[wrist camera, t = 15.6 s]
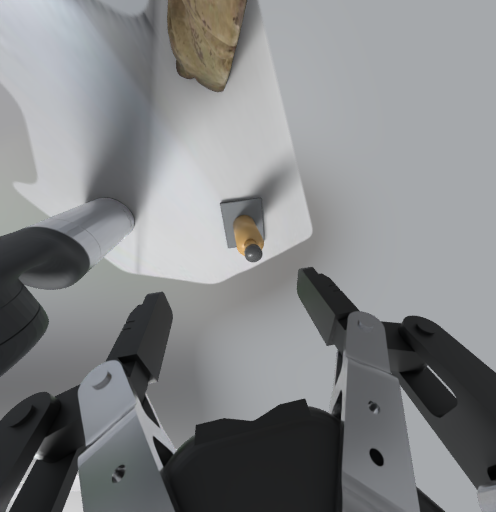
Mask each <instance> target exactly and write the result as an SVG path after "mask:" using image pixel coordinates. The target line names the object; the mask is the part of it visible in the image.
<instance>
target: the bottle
mask: <svg viewBox="0 0 496 512" xmlns="http://www.w3.org/2000/svg"><path fill="white" fill-rule="evenodd" d="M233 230H234V235H235V240H236V245H237V249H238V251H239V252H240V253H241V254H242V255H244V256H245V257H246V259H247V260H248V261H249V262H257V261H258V260H260V259H261V257H262V251H261V250H262V248H263V246H264V241H263V238H262V236H261V234H260V232H259V230H258V228H257V226H256V224H255V222H254V220H253V219H252V218H251V217H250V216H248V215H241V216H238V217H237V218H236V219H235V220H234V222H233Z"/></svg>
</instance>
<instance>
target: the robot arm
mask: <svg viewBox="0 0 496 512" xmlns="http://www.w3.org/2000/svg"><path fill="white" fill-rule="evenodd" d="M133 228H134V218H133V215H132V213H131V212H130V210H129V209H128V208H127V207H126V206H125V205H124V204H122V203H121V202H119V201H117V200H114V199H111V198H99V199H96V200H93V201H91V202H88V203H85V204H83V205H80V206H78V207H75V208H73V209H70V210H68V211H65V212H63V213H60V214H58V215H55V216H53V217H50V218H48V219H46V220H43V221H41V222H38V223H36V224H33V225H31V226H28V227H26V228H23V229H21V230H18V231H16V232H13V233H10V234H7V235H4V236H1V237H0V377H1V376H2V375H3V374H4V373H6V372H7V371H8V370H9V369H10V368H11V367H12V366H14V365H15V364H16V363H17V362H18V361H19V360H20V359H21V358H22V357H23V356H25V355H26V354H27V353H28V352H29V350H31V349H32V347H34V346H35V344H36V343H37V342H38V341H39V340H40V338H41V337H42V336H43V335H44V333H45V331H46V329H47V327H48V324H49V319H48V316H47V314H46V312H45V311H44V309H43V308H42V306H41V305H40V304H39V303H38V301H37V300H36V299H35V298H34V297H33V295H32V294H31V293H30V292H29V291H28V289H27V288H26V287H25V286H24V285H27V286H30V287H34V288H39V289H47V290H54V289H62V288H66V287H69V286H71V285H73V284H74V283H76V282H77V281H78V280H80V279H81V278H82V277H83V276H84V275H85V274H86V273H87V272H88V271H89V270H90V269H91V268H92V267H94V266H95V265H96V264H97V263H98V262H99V261H100V260H101V259H102V258H103V257H104V256H105V255H106V254H107V253H109V252H110V251H111V250H112V249H113V248H114V247H115V246H116V245H117V244H118V243H119V242H120V241H121V240H123V239H124V238H125V237H126V236H127V235H128V234H129V233H130V232H131V231H132V230H133ZM297 293H298V296H299V298H300V300H301V302H302V303H303V305H304V307H305V308H306V310H307V312H308V314H309V315H310V317H311V319H312V321H313V322H314V324H315V326H316V327H317V329H318V331H319V333H320V335H321V336H322V338H323V340H324V341H325V343H326V345H327V346H329V345H334V344H335V346H336V347H337V349H338V350H337V355H336V365H335V374H334V384H333V391H332V396H331V401H330V407H329V413H328V412H326V411H323V410H321V409H318V408H314V407H308V405H307V403H306V400H305V399H301V400H297V401H293V402H289V403H284V404H280V405H278V406H277V407H275V408H273V409H272V410H270V411H269V412H267V413H266V414H264V415H263V416H261V417H260V418H258V419H256V420H254V421H246V420H236V419H226V418H223V419H219V420H215V421H211V422H207V423H203V424H199V425H196V430H195V435H194V436H192V437H191V438H190V439H189V440H187V441H186V442H185V443H184V444H183V445H182V446H181V447H180V448H179V449H178V450H177V451H176V450H175V448H174V446H173V444H172V442H171V440H170V439H169V437H168V436H167V435H166V433H165V431H164V429H163V427H162V425H161V423H160V421H159V419H158V417H157V414H156V412H155V410H154V408H153V406H152V404H151V402H150V400H149V397H148V395H147V394H146V390H147V386H148V384H150V383H155V382H158V378H159V374H160V369H161V365H162V361H163V357H164V353H165V349H166V345H167V341H168V337H169V332H170V329H171V324H172V319H173V314H172V310H171V308H170V306H169V303H168V301H167V299H166V296H165V294H164V293H163V292H157V293H151V294H147V296H146V297H145V300H144V302H143V304H142V305H138V306H137V307H136V308H135V309H134V310H133V311H132V312H131V313H130V315H129V317H128V319H127V321H126V324H125V325H124V327H123V329H122V331H121V333H120V335H119V337H118V338H117V340H116V342H115V344H114V346H113V348H112V350H111V352H110V354H109V356H108V358H107V360H106V362H105V363H102V364H100V365H99V366H97V367H96V368H94V369H93V370H92V371H91V372H90V373H89V374H88V375H87V376H86V377H85V379H84V380H83V381H82V383H81V384H80V385H78V386H76V387H74V388H71V389H70V390H68V391H65V392H63V393H61V394H59V395H57V396H55V397H54V396H52V395H51V394H49V393H47V392H40V393H36V394H34V395H32V396H30V397H28V398H26V399H24V400H23V401H21V402H20V403H19V404H17V405H16V406H15V407H14V408H12V409H11V410H10V411H9V412H8V413H7V414H6V415H5V416H4V417H3V418H2V420H1V421H0V512H5V511H6V509H7V506H8V504H9V502H10V500H11V498H12V497H13V495H14V493H15V491H16V489H17V487H18V486H19V484H20V482H21V480H22V478H23V476H24V475H25V473H26V471H27V469H28V467H29V465H30V464H31V462H32V460H33V458H35V459H37V460H36V462H35V464H34V466H33V468H32V469H31V471H30V474H29V475H28V477H27V479H26V481H25V483H24V484H23V486H22V488H21V490H20V492H19V494H18V496H17V498H16V499H15V501H14V503H13V505H12V507H11V509H10V511H9V512H62V510H63V508H64V505H65V503H66V500H67V498H68V495H69V492H70V490H71V487H72V485H73V482H74V480H75V477H76V474H77V472H79V480H80V487H81V495H82V503H83V511H84V512H445V511H444V510H443V509H442V508H440V507H439V506H438V505H437V504H436V503H435V502H433V501H432V500H431V499H430V498H429V497H428V496H427V495H425V494H424V493H423V492H422V491H421V490H420V489H419V488H417V487H416V483H415V477H414V471H413V465H412V458H411V452H410V446H409V439H408V433H407V427H406V421H405V415H404V408H403V402H402V396H401V389H400V385H401V387H402V388H403V390H404V391H405V392H406V393H407V395H408V396H409V398H410V399H411V400H412V402H413V403H414V404H415V406H416V407H417V408H418V410H419V411H420V413H421V414H422V415H423V417H424V418H425V419H426V421H427V422H428V423H429V425H430V426H431V428H432V429H433V430H434V431H435V433H436V434H437V436H438V437H439V438H440V440H441V441H442V442H443V444H444V445H445V446H446V448H447V449H448V451H449V452H450V453H451V455H452V456H453V457H454V459H455V460H456V461H457V463H458V464H459V465H460V467H461V468H462V470H463V471H464V472H465V474H466V475H467V476H468V478H469V479H470V480H471V482H472V483H473V485H474V486H475V487H476V489H477V490H478V493H477V496H478V501H479V505H480V508H481V510H482V512H496V373H495V372H494V371H493V370H492V369H490V368H489V367H488V366H487V365H486V364H484V363H483V362H482V361H481V360H480V359H478V358H477V357H476V356H475V355H474V354H472V353H471V352H470V351H469V350H468V349H466V348H465V347H464V346H463V345H462V344H460V343H459V342H458V341H457V340H456V339H454V338H453V337H452V336H451V335H450V334H448V333H447V332H446V331H445V330H443V329H442V328H441V327H440V326H439V325H437V324H436V323H434V322H432V321H430V320H428V319H426V318H423V317H419V316H407V317H405V319H404V320H403V322H402V323H392V322H381V321H379V319H377V318H376V317H375V316H373V315H371V314H369V313H366V312H362V311H359V310H358V309H357V307H356V306H355V305H354V304H353V303H352V302H351V301H350V300H349V299H348V298H347V296H346V295H345V294H344V293H343V292H342V291H340V289H339V288H338V287H337V286H336V284H335V283H334V282H333V281H332V280H331V279H330V278H329V277H327V276H325V275H324V274H318V273H317V272H316V271H315V269H314V268H313V267H308V268H301V269H299V271H298V281H297ZM427 365H428V366H429V367H430V368H431V369H432V370H433V371H434V372H435V373H436V374H437V375H438V376H439V377H440V378H441V379H442V381H443V382H445V383H446V385H447V386H448V387H449V388H450V389H451V390H452V392H453V393H454V394H455V396H456V398H457V399H456V398H455V397H454V396H453V395H452V394H451V392H450V391H448V389H447V388H446V387H445V386H444V385H443V384H442V383H441V381H440V380H439V379H438V378H437V377H436V376H435V375H434V374H433V373H432V372H431V371H430V370H429V369H428V368H427ZM391 373H392V374H391Z"/></svg>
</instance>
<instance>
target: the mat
mask: <svg viewBox="0 0 496 512" xmlns="http://www.w3.org/2000/svg"><path fill="white" fill-rule="evenodd" d="M220 206H221V212H222V217H223V223H224V229H225V234H226V240H227V245H228V248H234V247H237V245H236V240H235V235H234V230H233V222H234V220H235V219H236V218H237V217H238V216H241V215H248V216H250V217H251V218H252V219H253V220H254V222H255V224H256V226H257V228H258V230H259V232H260V234H261V236H262V238H263V241H264V235H263V216H262V199H261V198H256V199H248V200H241V201H234V202H226V203H220Z"/></svg>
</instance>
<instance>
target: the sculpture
mask: <svg viewBox="0 0 496 512" xmlns="http://www.w3.org/2000/svg"><path fill="white" fill-rule="evenodd" d="M246 3H247V0H168V12H167V23H168V34H169V39H170V43H171V48H172V51H173V54H174V56H175V57H176V59H177V60H176V69H177V72H178V74H179V75H180V76H182V77H184V78H186V79H192V78H196V80H197V81H198V82H199V83H200V84H202V85H203V86H205V87H206V88H208V89H210V90H212V91H215V92H222V91H223V90H224V88H225V85H226V83H227V79H228V77H229V74H230V70H231V66H232V62H233V57H234V53H235V50H236V46H237V42H238V39H239V34H240V30H241V26H242V21H243V17H244V12H245V8H246Z"/></svg>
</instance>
